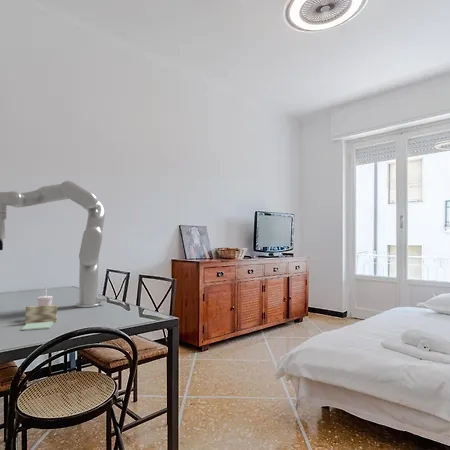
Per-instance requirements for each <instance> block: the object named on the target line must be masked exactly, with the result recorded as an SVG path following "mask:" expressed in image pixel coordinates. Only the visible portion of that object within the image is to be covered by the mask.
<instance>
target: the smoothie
mask: <svg viewBox="0 0 450 450" xmlns="http://www.w3.org/2000/svg"><path fill="white" fill-rule="evenodd" d="M44 289H45V290H44V295H42V296H38V297H37V298H36V299H37V302H38V303H37V304H38V306H45V305H53V304H52V301H53V299H54V296H53V295H47V286H45V287H44Z"/></svg>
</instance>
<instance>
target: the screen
mask: <svg viewBox="0 0 450 450" xmlns="http://www.w3.org/2000/svg"><path fill="white" fill-rule="evenodd" d="M39 322H53V323H56V322H58V304H51V305H45V306H39V305H29V306H28V305H27V306H26V307H25V322H24V324H25V325H26V324H27V323H39Z"/></svg>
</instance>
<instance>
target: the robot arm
mask: <svg viewBox="0 0 450 450" xmlns="http://www.w3.org/2000/svg"><path fill="white" fill-rule="evenodd" d="M65 200H71V201H72V202H75V203H76V204H77V205H79V206H80V207H82V208H83V209H84V210H86V211H87V214H88V215H87V221H86V222H87V223H86V226H85V230H84V231H83V234H82V238H81V243H80V248H79V254H78V258H79V259H78V260H79V270H78V271H79V273H78V274H79V276H78V277H79V279H78V282H79V283H78V284H79V285H78V291H79V292H78V300H79V301H78V302H77V303H75V307H77V308H93V307H94V308H95V307H98V306H101V305H102V302H107V297H100V296H99V255H100V252H101V246H102V241H103V229H104V222H105V213H106V211H105V208H104V206H103V204H102V203H101V201H99V200H98V198H97V196H96V195H95V194H94V193H92V192H91V191H89V190H87V189H85V188H84V187H82V186H80V184H79V185H78V184H77V183H75V182H74V181H70V180H66V181H65V180H64V181H62V182H61V183H59V184H51V185H43V186H41V187H39V188H38V189H36V190H32V191H26V192H18V191H15V190H14V191H13V190H12V191H0V251H3V249H4V247H3V246H4V245H3V244H4V242H3V241H4V240H5V239H6V223H5V222H6V220H7V206H9V207H10V206H11V207H13V208H17V209H18V208H26V207H30V206H36V205H41V204H42V205H43V204H46V203H52V202H57V201H58V202H59V201H65ZM3 239H4V240H3Z"/></svg>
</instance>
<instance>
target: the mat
mask: <svg viewBox="0 0 450 450" xmlns="http://www.w3.org/2000/svg"><path fill="white" fill-rule="evenodd" d="M53 324H54V322H39V323H27V324H25V325H23V327H21V329H20V331H21V332H22V331H23V330H24V331H36V330H38V331H39V330H47V329H48V330H49V329H51V326H52V325H53Z"/></svg>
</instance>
